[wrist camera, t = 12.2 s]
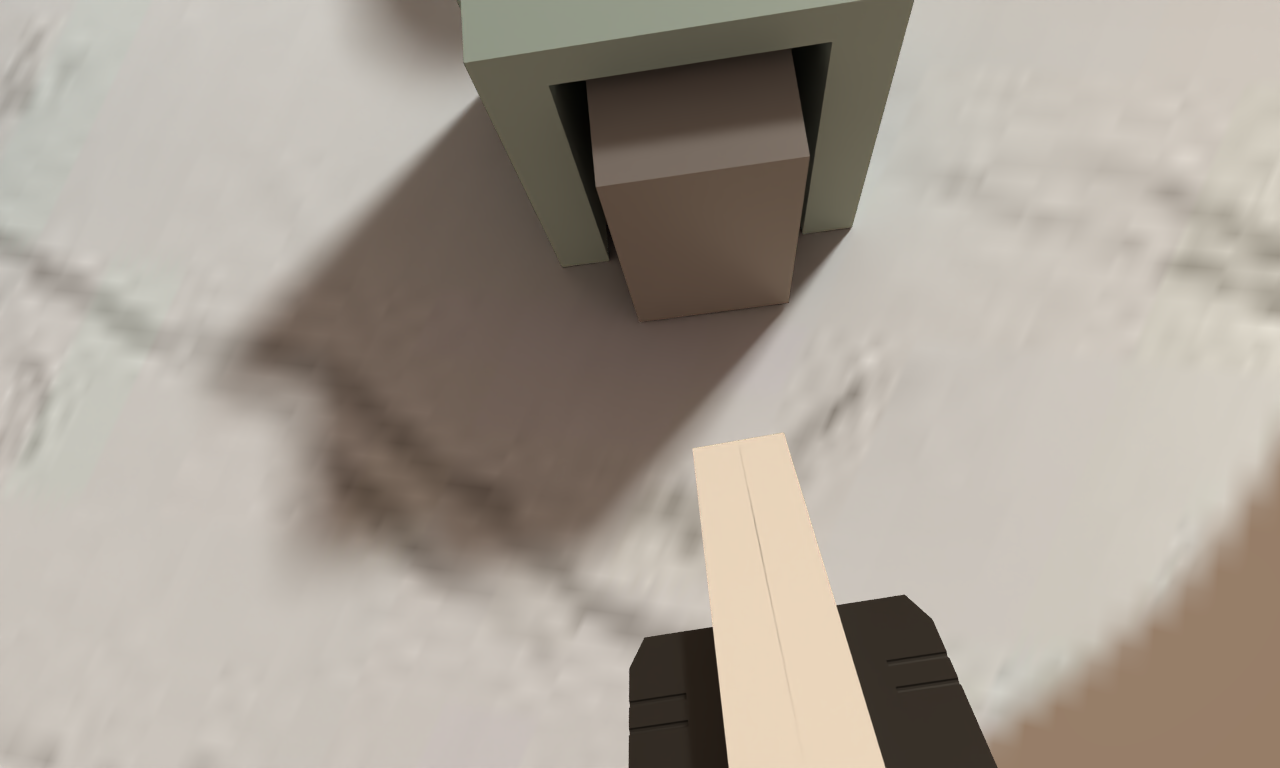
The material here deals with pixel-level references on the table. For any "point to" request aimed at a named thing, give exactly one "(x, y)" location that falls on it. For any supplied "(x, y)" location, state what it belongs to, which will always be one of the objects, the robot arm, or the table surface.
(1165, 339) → the table surface
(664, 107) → the plug
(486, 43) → the socket
